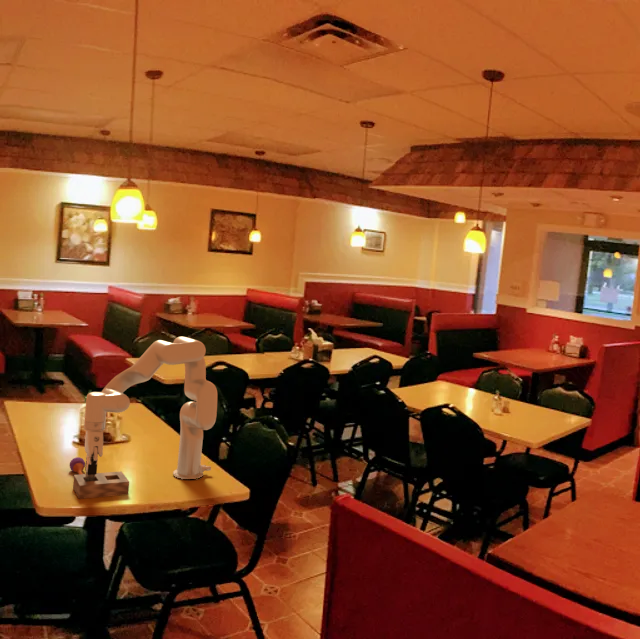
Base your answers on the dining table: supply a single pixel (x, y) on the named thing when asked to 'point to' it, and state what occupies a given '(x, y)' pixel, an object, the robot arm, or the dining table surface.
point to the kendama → (77, 465)
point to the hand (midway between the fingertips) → (90, 472)
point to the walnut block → (101, 485)
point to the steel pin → (87, 477)
